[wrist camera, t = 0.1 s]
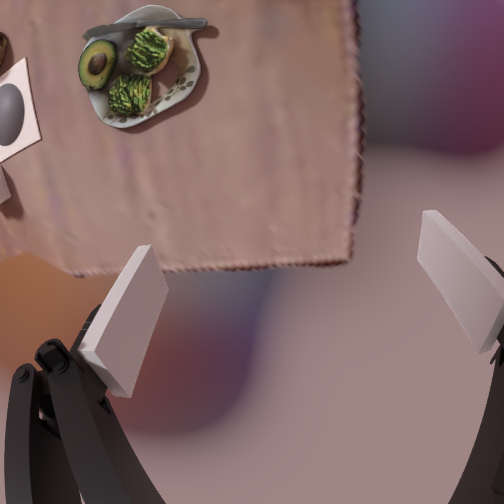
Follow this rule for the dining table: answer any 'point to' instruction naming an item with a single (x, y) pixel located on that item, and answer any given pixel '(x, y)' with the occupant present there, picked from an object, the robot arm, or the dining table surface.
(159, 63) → the salad plate
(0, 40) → the bread roll
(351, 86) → the dining table surface
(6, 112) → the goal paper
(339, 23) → the dining table surface
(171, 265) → the dining table surface
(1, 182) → the button housing
